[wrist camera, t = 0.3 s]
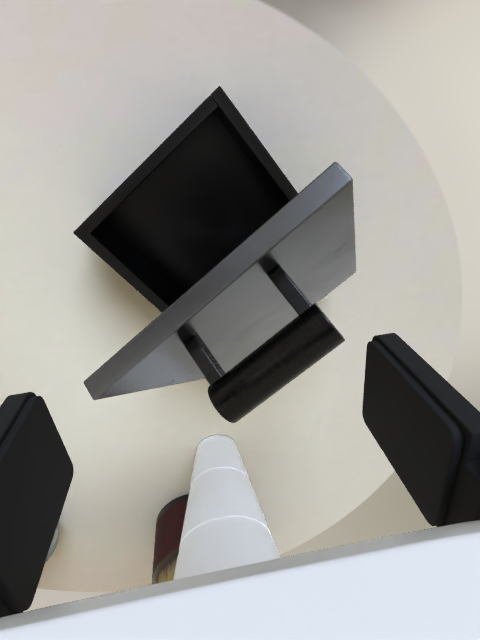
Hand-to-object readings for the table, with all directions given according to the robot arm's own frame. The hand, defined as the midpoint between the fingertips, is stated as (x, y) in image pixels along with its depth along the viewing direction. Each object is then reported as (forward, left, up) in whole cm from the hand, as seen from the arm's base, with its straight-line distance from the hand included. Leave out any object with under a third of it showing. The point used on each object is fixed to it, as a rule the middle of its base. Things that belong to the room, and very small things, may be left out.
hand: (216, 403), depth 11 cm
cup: (+27, -1, -24) cm, 36 cm away
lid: (+2, +3, -12) cm, 12 cm away
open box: (+1, +2, -24) cm, 24 cm away
